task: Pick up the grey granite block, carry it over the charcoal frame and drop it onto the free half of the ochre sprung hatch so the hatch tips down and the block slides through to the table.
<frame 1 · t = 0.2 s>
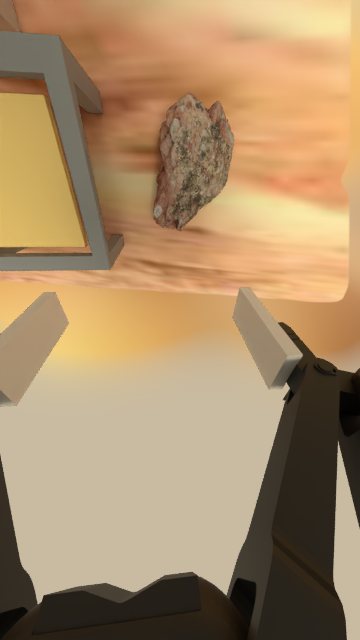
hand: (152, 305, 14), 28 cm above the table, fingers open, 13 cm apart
hatch: (8, 184, 22), point 11 cm above the table, hinge at -1.2°
frame: (51, 182, 30), on the table
rock: (185, 170, 31), on the table
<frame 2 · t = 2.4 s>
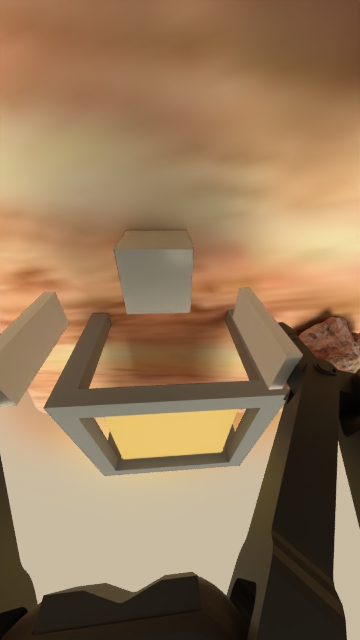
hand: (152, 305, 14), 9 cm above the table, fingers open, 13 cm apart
hatch: (172, 429, 23), point 11 cm above the table, hinge at -2.1°
grey cube: (158, 259, 20), on the table
frame: (170, 360, 31), on the table
rock: (302, 346, 31), on the table
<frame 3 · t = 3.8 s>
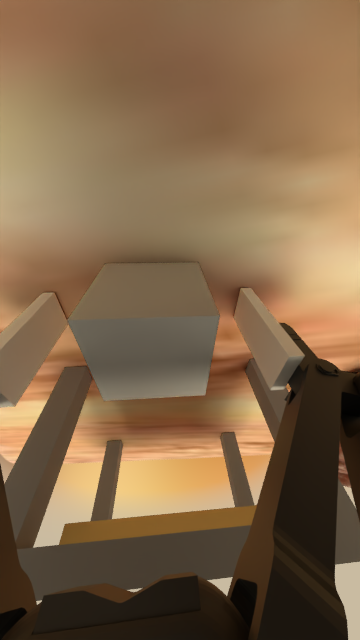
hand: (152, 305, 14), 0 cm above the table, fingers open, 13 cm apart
hatch: (175, 538, 16), point 11 cm above the table, hinge at -2.1°
grey cube: (155, 301, 14), on the table
frame: (171, 412, 24), on the table
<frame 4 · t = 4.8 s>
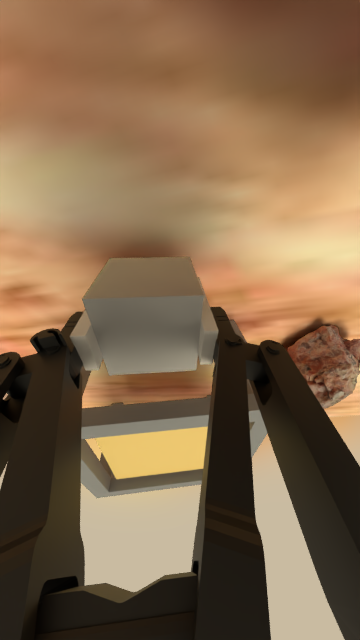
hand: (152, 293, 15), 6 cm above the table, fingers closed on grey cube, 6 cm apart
hatch: (166, 445, 22), point 11 cm above the table, hinge at -2.1°
grey cube: (153, 292, 16), point 5 cm above the table, touching gripper
frame: (164, 372, 30), on the table
rock: (298, 354, 32), on the table
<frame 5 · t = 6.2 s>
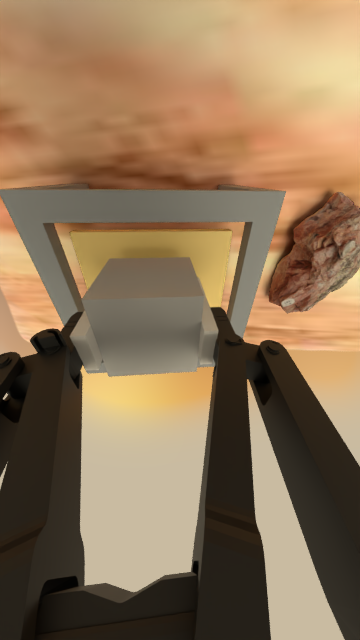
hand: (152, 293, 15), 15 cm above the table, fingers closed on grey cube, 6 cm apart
hatch: (158, 299, 20), point 11 cm above the table, hinge at -2.1°
grey cube: (153, 293, 16), point 14 cm above the table, touching gripper
frame: (159, 263, 29), on the table
rock: (305, 250, 30), on the table
when the fingers open (12 cm above the table, at t = 6.8 s): grey cube drops 9 cm and tips over, point 3 cm above the table.
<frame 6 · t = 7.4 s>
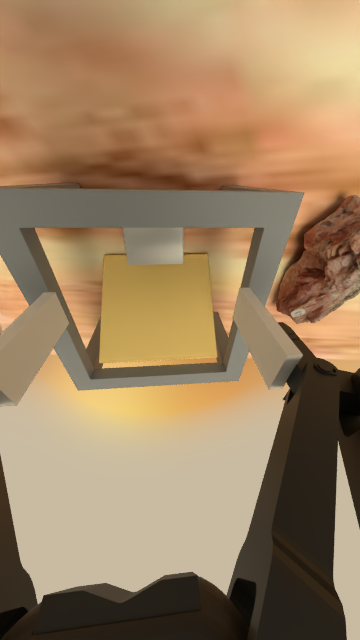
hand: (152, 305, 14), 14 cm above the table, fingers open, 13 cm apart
hatch: (158, 305, 24), point 6 cm above the table, hinge at -50.3°
grey cube: (156, 256, 23), point 3 cm above the table, tilted 92°
frame: (157, 269, 27), on the table
rock: (315, 256, 28), on the table
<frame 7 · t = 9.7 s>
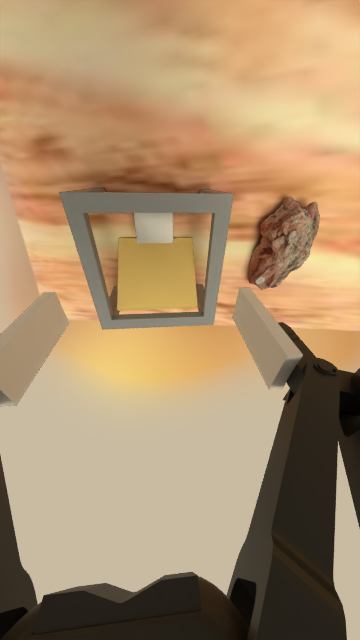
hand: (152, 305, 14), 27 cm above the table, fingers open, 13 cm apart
hatch: (157, 272, 34), point 6 cm above the table, hinge at -50.3°
grey cube: (155, 238, 33), point 3 cm above the table, tilted 90°
frame: (156, 249, 37), on the table
rock: (273, 241, 39), on the table
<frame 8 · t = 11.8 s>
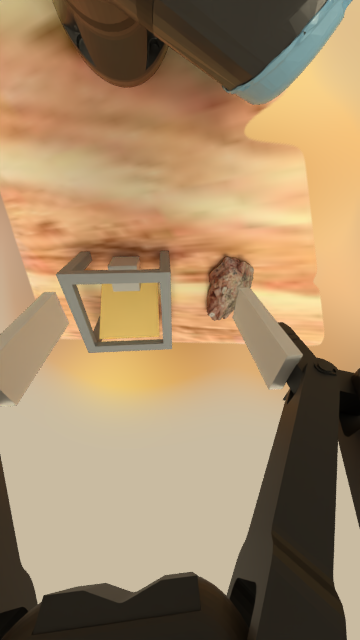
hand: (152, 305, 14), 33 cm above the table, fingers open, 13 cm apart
hatch: (130, 309, 46), point 6 cm above the table, hinge at -50.3°
grey cube: (128, 285, 45), point 3 cm above the table, tilted 90°
frame: (131, 289, 49), on the table
rock: (223, 282, 50), on the table
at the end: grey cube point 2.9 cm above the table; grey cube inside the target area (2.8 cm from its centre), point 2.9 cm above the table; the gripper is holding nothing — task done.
